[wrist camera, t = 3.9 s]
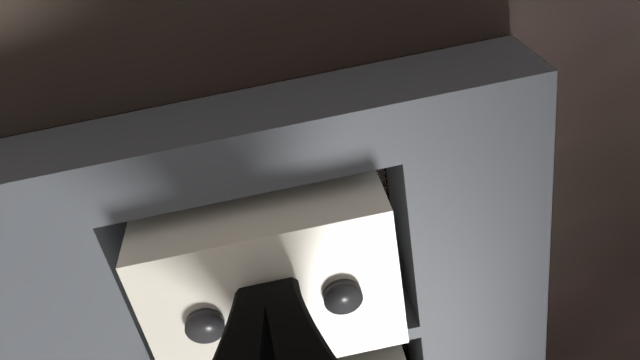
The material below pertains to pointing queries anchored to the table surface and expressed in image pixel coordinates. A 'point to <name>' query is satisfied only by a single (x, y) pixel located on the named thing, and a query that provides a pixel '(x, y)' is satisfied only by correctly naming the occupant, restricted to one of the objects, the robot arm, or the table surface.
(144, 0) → the table surface
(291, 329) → the robot arm
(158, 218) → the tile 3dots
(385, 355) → the tile
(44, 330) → the keypad board
